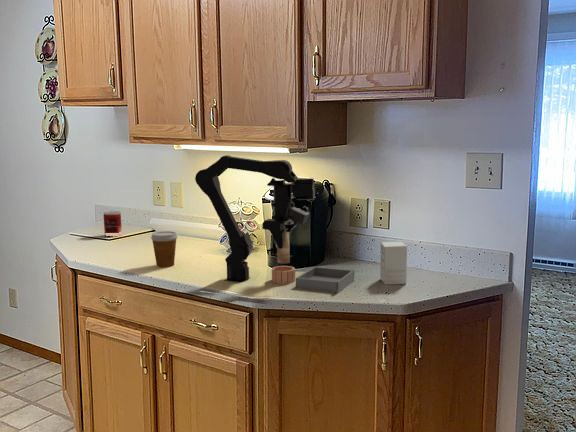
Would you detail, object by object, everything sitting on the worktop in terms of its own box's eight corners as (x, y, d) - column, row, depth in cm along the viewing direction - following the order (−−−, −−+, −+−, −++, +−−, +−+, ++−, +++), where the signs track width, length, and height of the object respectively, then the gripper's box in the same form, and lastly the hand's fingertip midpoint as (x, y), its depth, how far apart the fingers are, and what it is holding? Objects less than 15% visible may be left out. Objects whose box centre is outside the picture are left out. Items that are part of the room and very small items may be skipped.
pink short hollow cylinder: (267, 283, 201) (267, 270, 201) (277, 278, 208) (277, 265, 208) (289, 286, 198) (289, 272, 197) (299, 280, 205) (299, 267, 205)
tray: (295, 288, 195) (295, 278, 195) (314, 276, 209) (314, 266, 209) (337, 293, 189) (338, 282, 189) (354, 280, 204) (354, 270, 203)
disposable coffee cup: (147, 265, 228) (145, 233, 226) (168, 261, 235) (167, 230, 233) (161, 269, 221) (160, 236, 219) (183, 265, 228) (182, 233, 226)
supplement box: (401, 278, 206) (402, 241, 204) (406, 284, 199) (407, 245, 197) (379, 278, 206) (380, 241, 204) (383, 284, 199) (384, 246, 197)
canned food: (117, 233, 292) (116, 210, 291) (124, 235, 286) (123, 212, 285) (101, 235, 287) (100, 212, 286) (109, 238, 281) (107, 214, 280)
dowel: (275, 263, 201) (275, 232, 200) (280, 260, 205) (280, 230, 203) (286, 264, 200) (286, 233, 198) (291, 261, 203) (291, 231, 202)
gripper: (294, 204, 187) (294, 255, 190) (316, 197, 204) (316, 243, 207) (261, 202, 192) (262, 252, 194) (285, 195, 209) (286, 241, 211)
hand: (283, 247), depth 201 cm, fingers closed on dowel, 4 cm apart
